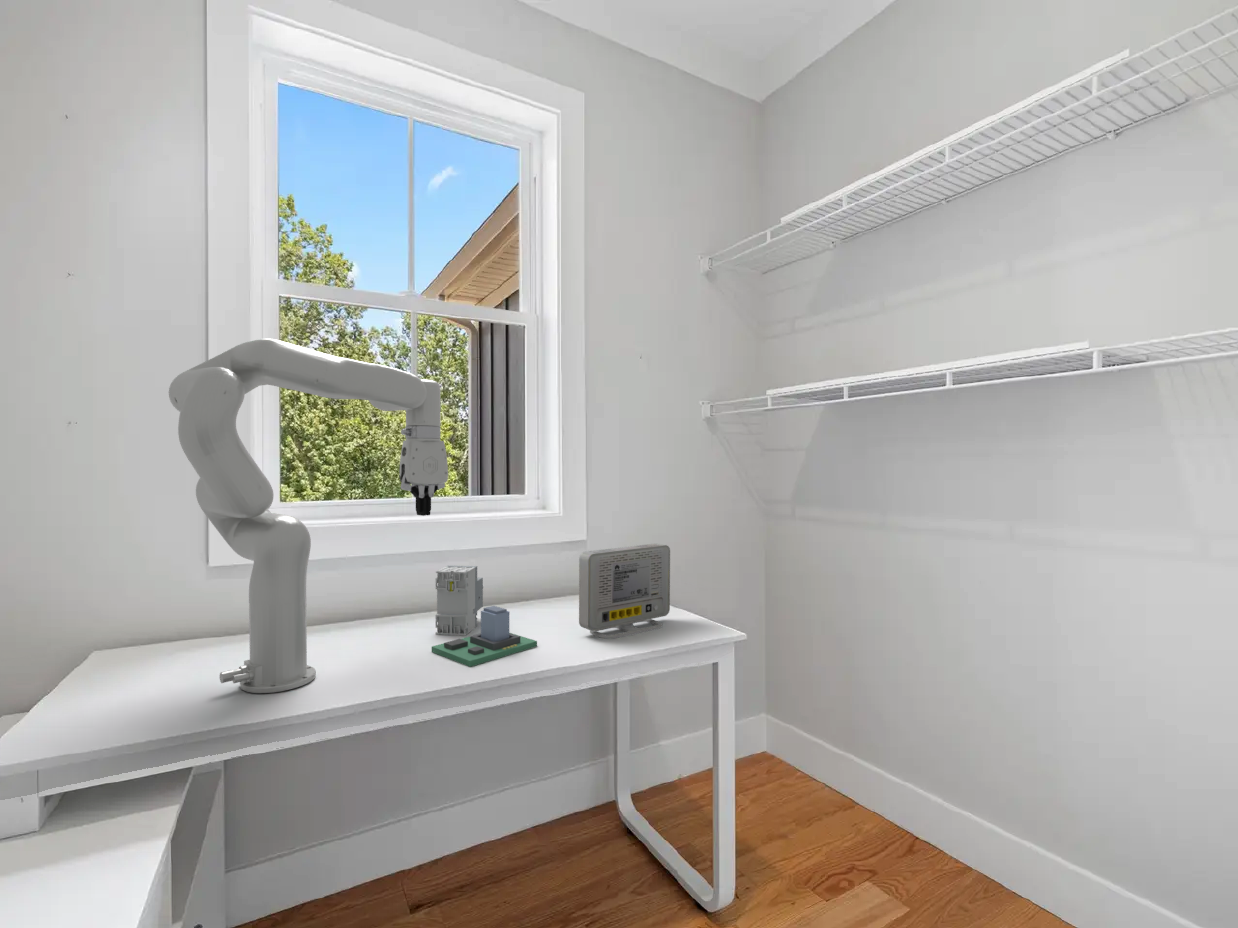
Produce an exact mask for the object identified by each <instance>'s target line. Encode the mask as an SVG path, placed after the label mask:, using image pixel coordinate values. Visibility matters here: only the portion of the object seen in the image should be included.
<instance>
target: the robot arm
mask: <svg viewBox="0 0 1238 928" xmlns="http://www.w3.org/2000/svg"><path fill="white" fill-rule="evenodd" d="M267 385H268V386H274V387H278V388H282V389H286V390H292V391H296V392H301V393H305V394H310V395H314V396H317V397H322V398H326V399H335V400H365V401H369V403H370V404H371V405H372V406H373V407H374V408H376V409H378V410H380V411H385V412H397V411H405V428H402V429H401V430H400V433H401V435H403V436H405V440H403V441H402V442H403V443H402V445H401V450H400V460H399V480H400V482H401V484H400V489H401V490H404V491H407V492H410V494H412V496H413V497H414V498H415V511H416V515H417V516H423V517H424V516H430V515H431V510H432V498H433V497H434V495H435V493H436V492H437V491H438V490H441V489H444V488H446V483H447V481H448V480H449V468H448V467H449V466H448V456H447V450H446V445H445V442H444V440H441V385H440V383H439V382H437V381H436V380H432V379H422V378H420V377H419V376H417V375H415V374H413V373H411V372H408V371H404V370H401V369H397V368H394V367H390V366H387V365H382V364H377V363H370V362H365V361H361V360H360V361H359V360H356V359H351V358H347V357H340V356H336V355H333V354H328V353H324V352H321V351H317V350H313V349H310V348H308V347H307V348H306V347H303V346H299V345H297V344H293V343H290V342H286V341H283V340H278V339H275V338H267V337H266V338H259V339H258V338H257V339H255V340H252V341H246V342H241V343H240V344H237V345H235V346H234V347H231V348H230V349H227V350H226V351H223V352H222V353H220V354H218V355H216V356H213V357H212V358H210V359H208V360H206V361H203V362H202V363H199V364H197V365H195V366H193V367H191V368H189V369H187V370H185V371H183V372H181V373H179V374H178V375H176V377H175V378H174V379H173V380H172V382H171V383H170V386H169V387H168V397H169V401H170V403H171V405H172V406H173V408H174V409H175V410H176V411H178V412H179V417H178V427H177V435H178V440H179V444H180V447H181V449H182V451H183V453H184V455H185V456H186V457H185V458H187V459H188V462H189V463H190V465H191V467H193V469H194V470H195V473H196V474H197V476H198V477H199V479H198V481H197V483H196V486H195V498H196V501H197V503H198V505H199V507H200V509H201V510H202V512H203V514H205V516H206V517H207V519H208V520H209V521H210V522H211V525H213V527H214V528H215V529H216V530H217V532H218V533H219V534H220V536H221V537H222V538H223V540H224V541H225V543H226V544H227V545H228V546H229V547H230V549H232V550H233V552H235V554H237V555H238V556H239V557H242V558H244V559H247V560H250V561H253V564H252V570H251V573H250V578H249V585H248V605H249V606H248V607H249V608H248V611H249V612H248V613H249V616H248V617H249V620H248V621H249V622H248V623H249V624H248V625H249V629H248V630H249V659H247V660H244V661H243V664H244V665H240V666H239V667H238V668H237V669H233V670H232V669H230V670H227V671H220V673H219V682H220V684H223V683H224V684H225V683H228V682H232V683H233V684H237V683H239V688H240V689H241V690H242V691H244V692H247V693H252V694H269V693H270V694H271V693H279V692H284V691H289V690H293V689H297V688H300V687H302V686H304V685H308V684H309V683H310V682H311V683H312V681H313V680H314V679H315V678H316V675H317V670H316V668H315V667H313V666H311V665H307V664H308V661H307V660H308V658H307V657H308V656H307V653H308V651H307V640H308V638H307V632H308V631H307V630H308V629H307V576H308V575H307V574H308V563H309V560H310V559H309V558H310V553H311V545H312V544H311V535H310V531H309V530H308V528H307V526H306V525H305V524H304V523H303V522H302V521H301V520H300V519H297V518H295V517H294V516H290V515H288V514H281V513H276V512H273V513H272V512H271V511H270V510H269V509H270V508H271V506H272V504H273V502H274V490H273V486H272V484H271V482H270V481H269V480H268V478H267V477H266V475H265V474H264V473H263V471H262V470H261V468H260V467H259V465H258V464H257V463H256V461H255V459H254V458H253V457H252V456H251V454H250V453H249V451H248V450H247V448H246V447H245V445H244V443H243V441H242V440H241V437H240V436H239V433H238V430H237V417H238V414H239V410H240V408H241V406H242V404H243V402H244V400H245V395H247V394H248V393H250V392H251V391H253V390H254V389H256V388H258V387H261V386H267Z"/></svg>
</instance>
